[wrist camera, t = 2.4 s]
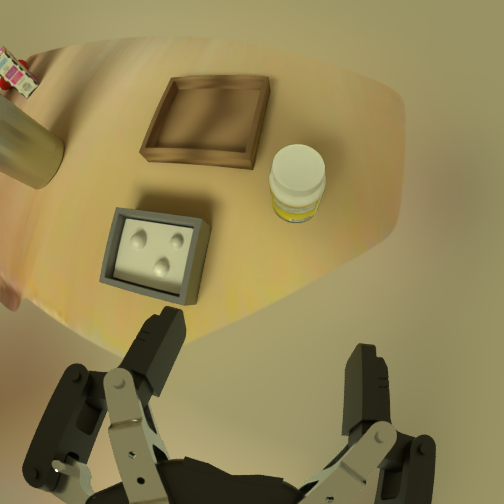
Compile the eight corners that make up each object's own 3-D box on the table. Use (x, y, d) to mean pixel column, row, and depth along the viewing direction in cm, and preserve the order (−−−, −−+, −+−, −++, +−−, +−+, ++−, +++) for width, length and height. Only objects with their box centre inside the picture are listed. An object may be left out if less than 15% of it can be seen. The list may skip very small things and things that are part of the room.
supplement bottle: (289, 173, 28) (290, 129, 20) (326, 197, 27) (342, 160, 19) (262, 207, 28) (254, 172, 19) (300, 234, 27) (308, 208, 19)
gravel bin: (117, 283, 28) (99, 281, 25) (132, 216, 29) (116, 207, 26) (196, 304, 27) (184, 305, 23) (211, 227, 28) (202, 218, 24)
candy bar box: (40, 84, 39) (4, 50, 23) (27, 99, 39) (-11, 68, 23) (34, 74, 41) (3, 44, 25) (22, 88, 41) (-10, 60, 25)
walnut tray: (148, 161, 30) (138, 152, 28) (177, 89, 32) (171, 77, 29) (252, 169, 28) (249, 158, 26) (270, 90, 30) (268, 77, 27)
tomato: (20, 84, 42) (8, 73, 36) (3, 96, 44) (-8, 88, 37) (34, 61, 44) (23, 51, 37) (16, 75, 45) (6, 65, 39)
